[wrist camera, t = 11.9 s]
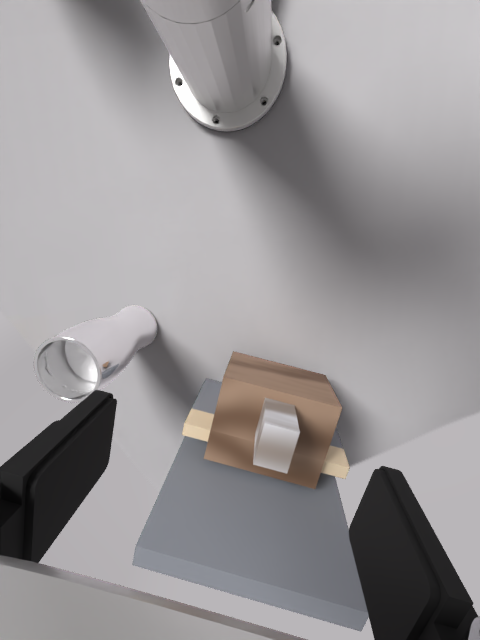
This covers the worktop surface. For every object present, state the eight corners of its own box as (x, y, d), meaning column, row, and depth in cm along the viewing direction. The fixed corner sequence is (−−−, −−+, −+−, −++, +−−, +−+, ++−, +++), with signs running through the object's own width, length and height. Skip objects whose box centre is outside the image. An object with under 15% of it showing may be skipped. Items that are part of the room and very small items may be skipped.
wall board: (206, 378, 44) (142, 510, 22) (330, 411, 43) (387, 579, 22) (198, 411, 45) (132, 565, 24) (319, 443, 44) (361, 631, 23)
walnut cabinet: (233, 351, 39) (215, 398, 26) (325, 375, 39) (357, 435, 25) (217, 416, 41) (192, 493, 27) (304, 440, 41) (323, 530, 27)
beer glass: (164, 308, 42) (106, 345, 27) (157, 355, 43) (99, 412, 29) (115, 296, 42) (32, 326, 27) (110, 343, 44) (29, 394, 29)
